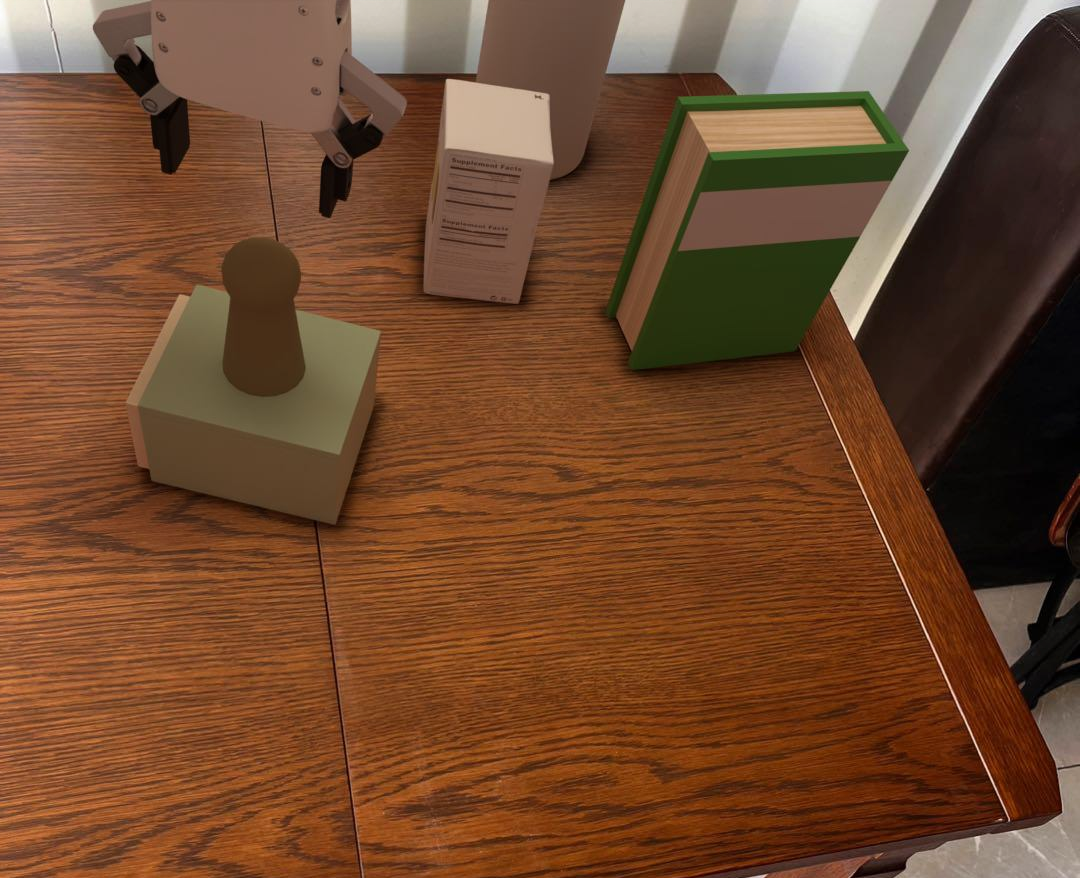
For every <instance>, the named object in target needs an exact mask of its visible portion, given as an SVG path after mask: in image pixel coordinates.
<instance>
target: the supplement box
mask: <svg viewBox="0 0 1080 878" xmlns="http://www.w3.org/2000/svg"><path fill="white" fill-rule="evenodd" d="M442 98H443V99H442V104H441V112H440V118H439V119H440V120H439V127H438V133H437V141H436V148H435V157H434V163H433V172H432V179H431V186H430V192H429V199H428V207H427V214H426V221H425V223H426V224H425V233H424V234H425V237H424V254H423V255H424V256H423V293H424V294H428V295H431V296H432V295H433V296H440V297H441V296H442V297H451V298H458V299H459V298H460V299H467V300H476V301H477V300H478V301H486V302H487V301H488V302H495V303H503V304H505V303H506V304H513V305H514V304H516V305H519V304H520V300H521V296H522V292H523V288H524V284H525V280H526V276H527V272H528V268H529V263H530V259H531V255H532V251H533V248H534V244H535V243H534V242H535V238H536V237H535V236H536V231H537V228H538V226H539V221H540V217H541V215H542V211H543V207H544V203H545V200H546V196H547V192H548V188H549V185H550V181H551V180H550V177H551V173H552V169H553V165H554V161H553V152H552V142H551V131H550V111H549V98H550V96H549V94H546V93H540V92H534V91H528V90H521V89H514V88H507V87H501V86H494V85H488V84H481V83H476V81H475V82H473V81H469V80H463V79H453V78H446V79H445V84H444V90H443V97H442Z"/></svg>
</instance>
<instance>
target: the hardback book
mask: <svg viewBox="0 0 1080 878" xmlns="http://www.w3.org/2000/svg"><path fill="white" fill-rule="evenodd" d="M909 152H910V149H909V148H908V146H907V145H906V143H905V142H904V141H903V139H902V138H901V136H900V134H899V133H898V131H897V130H896V128H894V126H893V124H892V122H890V120H889V119H888V117H887V115H886V114H885V112H884V111H883V110H882V108H881V107H880V105H879V104H878V103H877V100H876V99H875V97H873V95H872V94H871V92H870V91H869V90H859V91H826V92H825V91H824V92H823V91H822V92H793V93H791V92H790V93H788V92H787V93H761V94H760V93H759V94H758V93H757V94H729V95H728V94H727V95H726V94H725V95H723V94H722V95H696V96H695V95H693V96H692V95H691V96H689V95H688V96H677V98H676V101H675V104H674V108H673V109H672V113H671V116H670V119H669V122H668V125H667V128H666V130H665V133H664V137H663V140H662V141H661V146H660V148H659V151H658V155H657V157H656V160H655V162H654V167H653V170H652V172H651V175H650V178H649V181H648V184H647V187H646V189H645V193H644V196H643V199H642V202H641V204H640V207H639V210H638V213H637V216H636V220H635V222H634V225H633V228H632V231H631V234H630V237H629V240H628V243H627V246H626V249H625V252H624V255H623V257H622V260H621V264H620V266H619V269H618V272H617V276H616V279H615V282H614V284H613V287H612V290H611V292H610V296H609V298H608V301H607V304H606V308H605V315H606V317H607V319H608V320H609V319H616V320H617V322H618V324H619V327H620V328H621V331H622V333H623V335H624V337H625V340H626V342H627V344H628V346H629V348H630V351H631V353H630V356H629V358H628V361H627V364H628V367H629V369H630V371H636V370H637V371H638V370H645V369H656V368H664V367H670V366H671V367H672V366H681V365H690V364H696V363H697V364H698V363H706V362H707V363H708V362H715V361H722V360H732V359H741V358H748V357H756V356H766V355H774V354H783V353H792V352H796V351H797V349H798V347H799V346H800V344H801V342H802V340H803V338H804V337H805V335H806V333H807V331H808V330H809V328H810V326H811V324H812V323H813V321H814V319H815V317H816V316H817V314H818V312H819V310H820V309H821V307H822V305H823V303H824V302H825V300H826V298H827V296H828V294H829V292H830V291H831V289H832V287H834V284H835V283H836V281H837V278H838V277H839V275H840V273H841V271H842V270H843V268H844V266H845V265H846V263H847V261H848V259H849V257H850V256H851V254H852V253H853V250H854V249H855V247H856V245H857V243H858V242H859V240H860V238H861V236H862V235H863V233H864V230H866V228H867V226H868V224H869V222H870V220H871V219H872V217H873V216H874V214H875V212H876V210H877V208H878V206H879V205H880V203H881V201H882V199H883V198H884V196H885V194H886V193H887V191H888V189H889V187H890V186H891V183H892V182H893V180H894V178H895V177H896V175H897V173H898V171H899V169H900V168H901V166H902V164H903V162H904V161H905V160H906V157H907V155H908V154H909Z"/></svg>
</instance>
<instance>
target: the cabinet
mask: <svg viewBox="0 0 1080 878" xmlns="http://www.w3.org/2000/svg"><path fill="white" fill-rule="evenodd" d="M189 297H190V299H189V301H188V303H187V305H186V307H185V309H184V311H183V313H182V315H181V317H180V319H179V321H178V323H177V325H176V327H175V329H174V331H173V334H172V336H171V338H170V340H169V342H168V344H167V346H166V348H165V350H164V352H163V354H162V356H161V358H160V360H159V362H158V364H157V366H156V368H155V370H154V372H153V375H152V377H151V379H150V381H149V383H148V385H147V387H146V389H145V391H144V393H143V395H142V397H141V399H140V401H139V403H138V410H139V416H140V421H141V427H142V432H143V438H144V443H145V448H146V454H147V459H148V465H149V469H148V471H149V476H150V480H151V482H155V483H159V484H163V485H167V486H172V487H176V488H179V489H184V490H188V491H191V492H192V491H193V492H197V493H200V494H205V495H209V496H212V497H213V496H214V497H218V498H222V499H225V500H228V501H229V500H230V501H234V502H239V503H243V504H246V505H251V506H254V507H259V508H262V509H268V510H271V511H275V512H279V513H280V512H281V513H284V514H288V515H292V516H296V517H299V518H300V517H301V518H305V519H309V520H313V521H317V522H321V523H326V524H330V525H336V524H337V521H338V518H339V516H340V512H341V509H342V506H343V503H344V500H345V497H346V493H347V490H348V488H349V484H350V481H351V478H352V475H353V472H354V468H355V465H356V463H357V459H358V456H359V453H360V450H361V447H362V444H363V441H364V438H365V434H366V431H367V428H368V427H369V426H368V425H369V422H370V419H371V416H372V413H373V411H374V407H375V398H376V388H377V379H378V367H379V359H380V358H379V357H380V347H381V337H382V331H381V330H378V329H375V328H370V327H367V326H363V325H359V324H355V323H351V322H347V321H343V320H340V319H335V318H333V317H332V318H331V317H329V316H328V317H327V316H323V315H320V314H316V313H311V312H307V311H304V310H300V309H296V308H295V310H296V315H297V321H298V326H299V332H300V338H301V343H302V349H303V354H304V360H305V366H306V369H305V373H304V377H303V379H302V380H301V381H300V383H299V384H298V385H297V386H296V387H295V388H293V389H292V390H290V391H289V392H287V393H284V394H280V395H277V396H269V397H260V396H254V395H249V394H247V393H245V392H242V391H240V390H238V389H237V388H235V387H234V386H233V385H232V384H231V383H230V382H229V381H228V380H227V378H226V376H225V374H224V373H223V364H222V361H223V353H224V345H225V337H226V329H227V321H228V313H229V305H230V296H229V294H228V293H227V291H226V290H222V289H217V288H214V287H211V286H205V285H201V284H198V283H197V284H196V285H195V286H194V288H193V290H192V293H191V295H190V296H189Z"/></svg>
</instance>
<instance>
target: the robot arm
mask: <svg viewBox="0 0 1080 878" xmlns="http://www.w3.org/2000/svg"><path fill="white" fill-rule="evenodd" d="M92 31H93V33H94V35H95V36H96V38H97V39H98V42H99V43H100V44H101V46H102V48H103V49H104V51H105V52H106V54H107V56H108V57H109V58H111V60H112V61H113V62H114V63H113V69H114V72H115V73H116V74H117V76H118V77H119V78H121V79H122V81H123V82H124V83H125V84H126V85H127V86H128V87H129V88H130V89H131V90H132V91H133V92H134V93H135V94H136V96H138V97H139V98H140V99H139V101H138V103H139V106H140V108H141V110H142V111H143V112H145V113H146V114H147V115H149V119H150V130H151V140H152V147H153V149H154V150H157V151H158V152H159V160H160V170H161V173H164V174H167V175H173V174H176V172H177V171H178V169H179V167H180V165H181V164H182V162H183V160H184V158H185V157H186V154H187V152H188V150H189V149H190V146H191V135H190V122H189V121H190V120H189V108H188V101H191V102H194V103H197V104H201V105H203V106H207V107H210V108H213V109H217V110H220V111H224V112H227V113H232V114H235V115H238V116H242V117H245V118H249V119H252V120H257V121H260V122H263V123H267V124H270V125H275V126H277V127H281V128H286V129H289V130H294V131H299V132H301V133H302V132H303V133H310V135H311V136H312V137H313V138H314V140H315V141H316V142H317V144H318V145H319V146H320V147H321V149H322V151H324V153H325V156H324V158H323V159H322V163H321V166H320V180H319V197H318V198H319V200H318V201H319V203H318V213H319V214H320V215H321V217H323V218H327V219H331V218H332V215H333V213H334V211H335V208H336V206H337V203H338V201H342V202H347V201H348V198H349V196H350V193H351V189H352V183H353V172H354V160H355V159H358V158H360V157H361V156H364V155H365V154H367V153H369V152H371V151H373V150H375V149H377V148H378V147H380V146H381V144H382V141H384V139H385V138H386V137H387V136H388V135H389V134H390V133H391V132H392V131H393V130H394V128H395V127H396V126H397V125H398V124H399V123H400V122H401V120H402V119H403V116H404V113H405V111H406V109H407V105H408V100H407V99H406V97H405V96H404V95H402V93H400V92H399V91H398V90H396V89H395V88H393V87H392V85H390V84H389V83H388V82H386V81H385V80H383V79H382V78H381V77H380V76H378V75H377V74H376V73H375V72H373V71H372V70H371V69H370V68H368V67H367V66H366V65H365V64H364V63H362V62H360V61H359V60H358V59H357V58H356V57H354V56H353V55H352V52H353V51H352V49H353V48H352V45H353V44H352V40H353V37H352V35H353V34H352V3H351V0H149V1H144V2H139V3H134V4H130V5H123V6H119V7H113V8H110V9H105V10H103V11H101V12H100V14H99V16H98V17H97V18H96V19H95V22H94V23H93V24H92ZM147 36H151V49H152V50H151V51H152V59H151V57H149V55H148V54H147V53H146V52H145V51H144V50H143V49H142V48H141V47H140V46H139V45H137V44H135V43H136V40H135V39H137V38H141V37H147ZM347 93H348V94H350V95H351V96H352V97H353V98H355V99H356V100H357V101H359V102H360V103H361V104H363V105H364V106H365V107H367V108H368V109H369V110H370V111H371V113H370V114H368V115H367V116H365V117H363V118H360V119H359V120H358V121H357V120H356V119H355V118H354V116H353V115H352V113H351V112H350V110H349V109H348V108H347V106H346V105H345V103H344V102H343V100H342V99H341V97H340V96H342V97H346V95H347Z"/></svg>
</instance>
